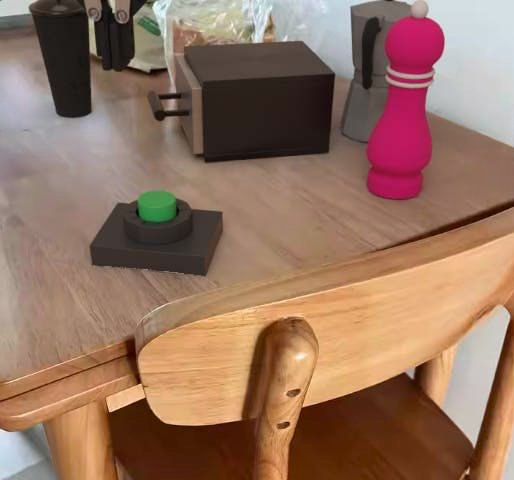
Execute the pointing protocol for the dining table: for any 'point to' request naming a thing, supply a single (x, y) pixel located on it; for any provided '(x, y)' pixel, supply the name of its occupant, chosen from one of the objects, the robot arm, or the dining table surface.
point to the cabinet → (263, 100)
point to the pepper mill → (405, 107)
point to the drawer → (183, 104)
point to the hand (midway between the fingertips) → (117, 66)
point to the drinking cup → (65, 53)
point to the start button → (157, 206)
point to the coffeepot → (369, 65)
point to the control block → (158, 240)
